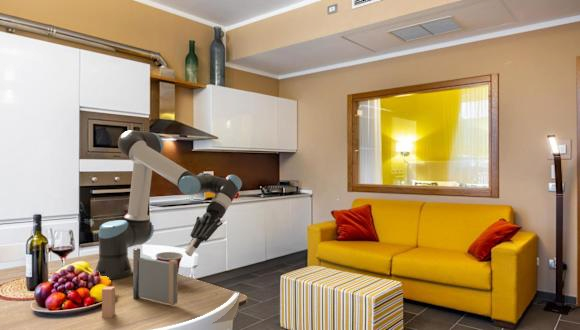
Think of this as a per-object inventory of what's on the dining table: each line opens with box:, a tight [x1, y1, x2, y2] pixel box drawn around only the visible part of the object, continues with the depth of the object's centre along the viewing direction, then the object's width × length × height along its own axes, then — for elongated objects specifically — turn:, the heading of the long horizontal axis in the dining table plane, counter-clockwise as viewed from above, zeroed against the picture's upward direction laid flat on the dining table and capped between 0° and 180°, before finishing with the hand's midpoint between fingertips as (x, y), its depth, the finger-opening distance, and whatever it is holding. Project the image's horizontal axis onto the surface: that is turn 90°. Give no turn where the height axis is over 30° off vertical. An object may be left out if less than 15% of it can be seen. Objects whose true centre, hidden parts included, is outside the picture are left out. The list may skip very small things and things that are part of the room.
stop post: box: [101, 286, 116, 318], centre depth 131 cm, size 3×3×9 cm
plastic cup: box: [155, 251, 184, 276], centre depth 165 cm, size 11×11×12 cm
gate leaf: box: [139, 257, 178, 306], centre depth 142 cm, size 17×2×15 cm, turn 62°
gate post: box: [132, 248, 141, 300], centre depth 147 cm, size 2×2×18 cm
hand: (188, 253), depth 152 cm, fingers closed
